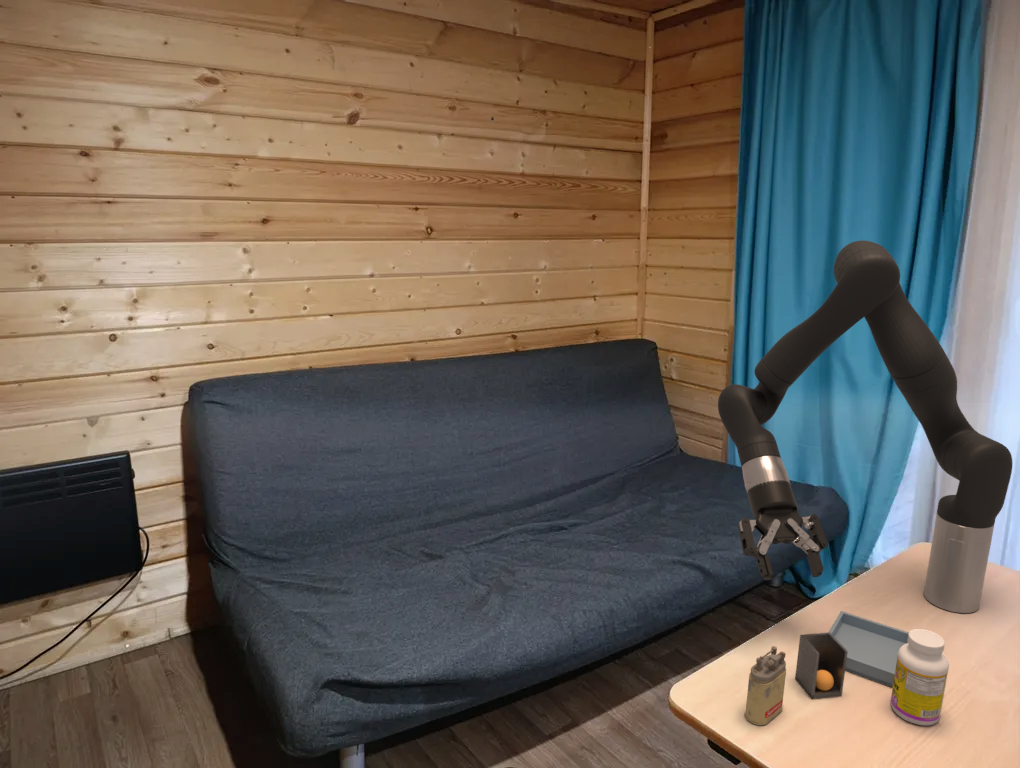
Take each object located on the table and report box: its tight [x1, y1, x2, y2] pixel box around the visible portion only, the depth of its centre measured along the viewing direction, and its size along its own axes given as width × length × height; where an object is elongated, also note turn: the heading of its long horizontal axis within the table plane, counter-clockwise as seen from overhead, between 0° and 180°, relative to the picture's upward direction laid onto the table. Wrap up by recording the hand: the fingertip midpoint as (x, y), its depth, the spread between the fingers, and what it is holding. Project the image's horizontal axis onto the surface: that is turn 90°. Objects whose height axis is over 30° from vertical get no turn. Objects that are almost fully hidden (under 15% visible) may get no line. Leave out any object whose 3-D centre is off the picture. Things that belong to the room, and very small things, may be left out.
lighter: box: [744, 645, 787, 726], centre depth 110 cm, size 7×4×10 cm, turn 130°
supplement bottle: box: [890, 628, 950, 726], centre depth 110 cm, size 7×7×13 cm
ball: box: [816, 670, 834, 691], centre depth 115 cm, size 3×3×3 cm
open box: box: [794, 631, 848, 700], centre depth 116 cm, size 5×5×8 cm
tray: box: [827, 610, 910, 688], centre depth 125 cm, size 14×12×2 cm
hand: (793, 577), depth 123 cm, fingers open, 8 cm apart
